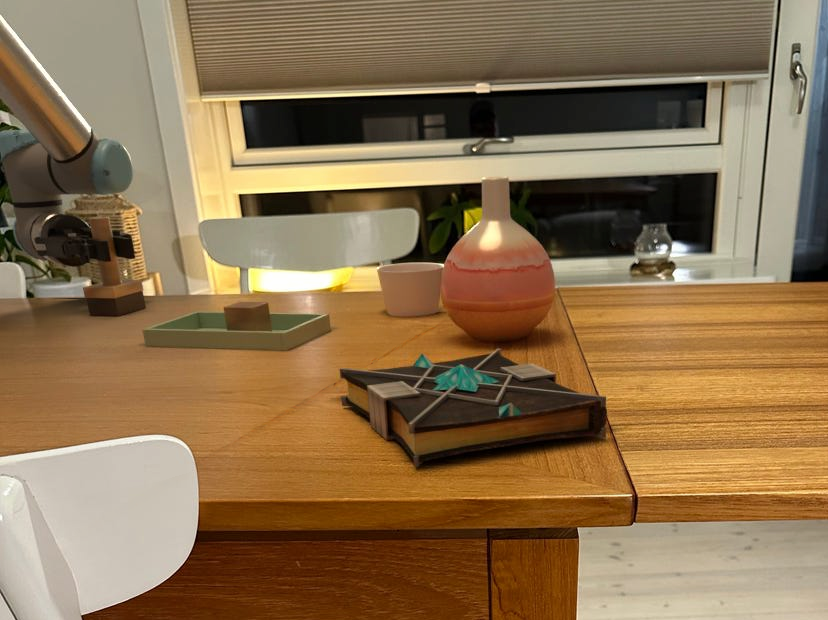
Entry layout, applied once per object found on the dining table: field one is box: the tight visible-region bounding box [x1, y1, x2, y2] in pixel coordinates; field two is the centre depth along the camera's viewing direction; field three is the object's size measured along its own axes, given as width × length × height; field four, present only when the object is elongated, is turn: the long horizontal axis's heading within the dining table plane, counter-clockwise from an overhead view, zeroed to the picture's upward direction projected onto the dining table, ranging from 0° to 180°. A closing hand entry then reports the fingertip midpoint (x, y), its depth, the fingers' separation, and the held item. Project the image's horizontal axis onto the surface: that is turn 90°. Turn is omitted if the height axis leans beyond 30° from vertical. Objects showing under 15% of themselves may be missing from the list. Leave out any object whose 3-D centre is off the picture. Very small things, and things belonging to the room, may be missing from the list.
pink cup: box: [376, 262, 444, 318], centre depth 130 cm, size 9×9×6 cm
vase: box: [440, 176, 556, 343], centre depth 112 cm, size 14×14×18 cm
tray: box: [142, 310, 332, 352], centre depth 118 cm, size 19×12×3 cm, turn 73°
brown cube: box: [223, 301, 272, 332], centre depth 117 cm, size 4×4×4 cm
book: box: [339, 348, 608, 468], centre depth 83 cm, size 22×17×5 cm
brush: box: [82, 216, 147, 317], centre depth 140 cm, size 5×7×13 cm
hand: (118, 250), depth 135 cm, fingers closed on brush, 3 cm apart
